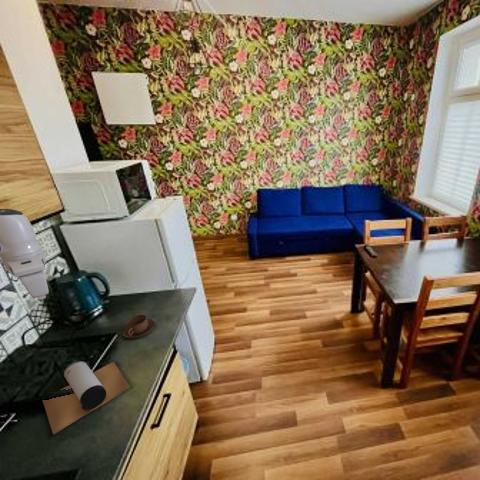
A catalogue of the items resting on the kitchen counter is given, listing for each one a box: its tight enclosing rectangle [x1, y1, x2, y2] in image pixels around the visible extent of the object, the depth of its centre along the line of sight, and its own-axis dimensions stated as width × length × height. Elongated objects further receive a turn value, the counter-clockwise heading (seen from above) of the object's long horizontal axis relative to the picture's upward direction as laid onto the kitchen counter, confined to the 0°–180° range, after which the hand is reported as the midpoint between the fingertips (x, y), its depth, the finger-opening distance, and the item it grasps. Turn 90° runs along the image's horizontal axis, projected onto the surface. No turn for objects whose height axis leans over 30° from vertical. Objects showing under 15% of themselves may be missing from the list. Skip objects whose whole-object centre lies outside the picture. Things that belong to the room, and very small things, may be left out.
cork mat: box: [42, 361, 131, 435], centre depth 91 cm, size 20×17×1 cm
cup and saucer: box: [122, 314, 155, 339], centre depth 117 cm, size 12×12×6 cm
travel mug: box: [63, 360, 106, 410], centre depth 90 cm, size 6×7×20 cm
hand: (42, 297), depth 88 cm, fingers closed
